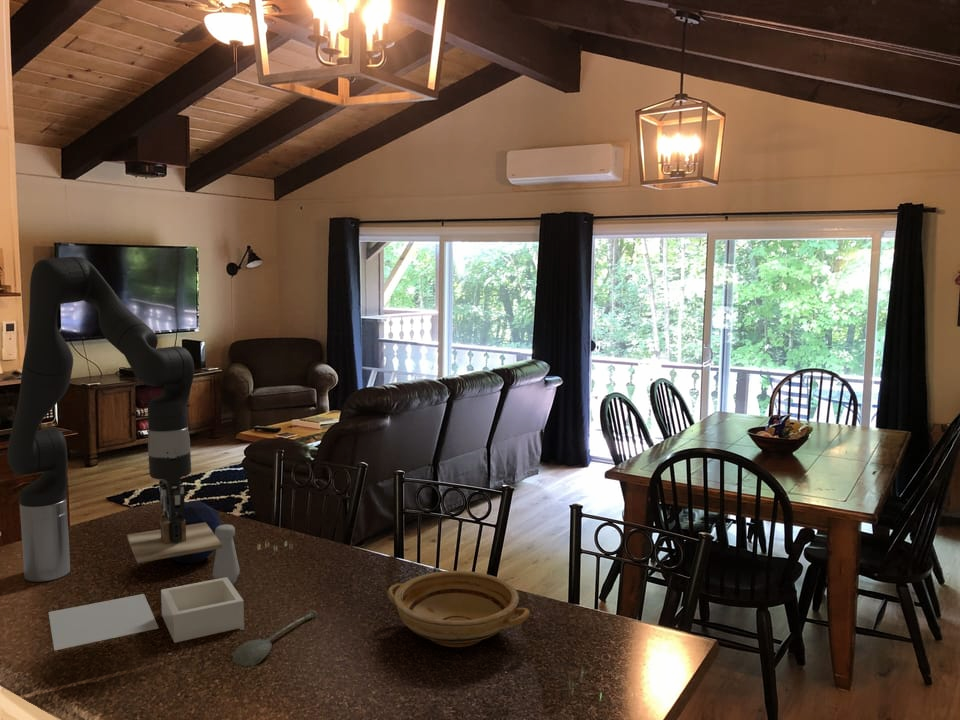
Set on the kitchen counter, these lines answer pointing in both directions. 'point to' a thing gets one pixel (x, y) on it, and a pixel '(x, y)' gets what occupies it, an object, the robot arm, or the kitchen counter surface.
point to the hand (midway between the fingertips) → (173, 537)
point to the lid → (160, 546)
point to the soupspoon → (260, 646)
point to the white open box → (202, 609)
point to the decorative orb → (194, 515)
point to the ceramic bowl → (457, 606)
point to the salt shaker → (226, 554)
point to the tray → (101, 621)
